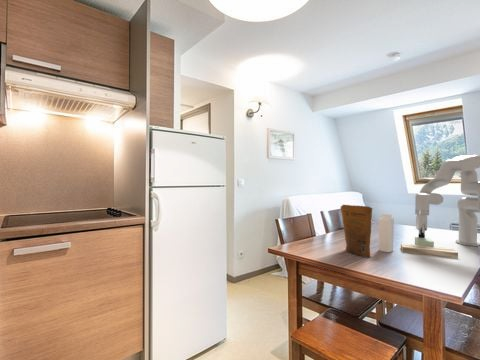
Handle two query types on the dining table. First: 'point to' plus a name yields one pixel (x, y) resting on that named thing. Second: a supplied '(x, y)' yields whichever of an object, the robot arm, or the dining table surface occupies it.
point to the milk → (386, 233)
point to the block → (424, 241)
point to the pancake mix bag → (357, 229)
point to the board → (429, 250)
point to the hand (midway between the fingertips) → (421, 240)
